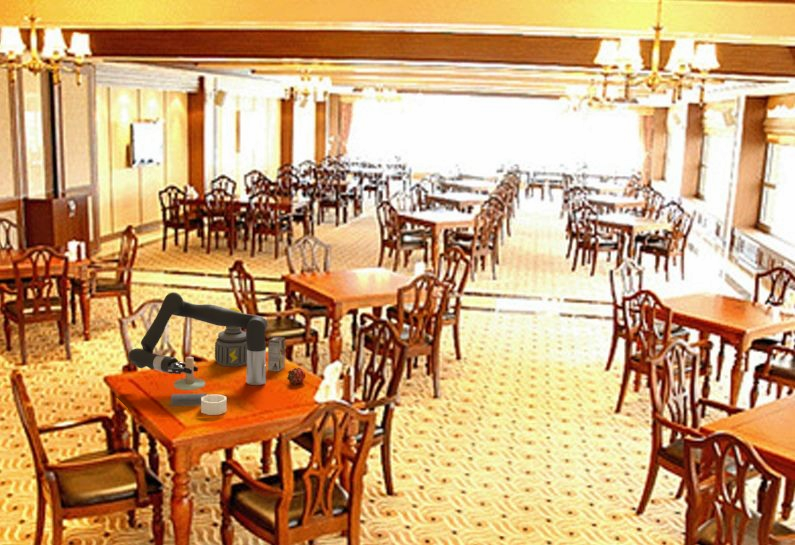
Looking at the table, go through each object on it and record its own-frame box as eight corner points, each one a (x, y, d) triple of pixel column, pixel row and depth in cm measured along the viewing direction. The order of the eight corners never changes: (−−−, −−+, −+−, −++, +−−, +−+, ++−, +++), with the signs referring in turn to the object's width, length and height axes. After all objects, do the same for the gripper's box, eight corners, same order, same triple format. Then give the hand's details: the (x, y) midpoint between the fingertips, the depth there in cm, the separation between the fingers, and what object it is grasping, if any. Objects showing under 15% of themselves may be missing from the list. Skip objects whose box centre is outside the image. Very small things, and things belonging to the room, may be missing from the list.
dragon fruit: (290, 390, 424) (298, 386, 435) (304, 381, 422) (311, 377, 434) (282, 375, 424) (289, 371, 436) (296, 366, 423) (303, 363, 434)
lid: (205, 379, 404) (205, 353, 401) (205, 389, 390) (205, 362, 388) (174, 380, 401) (174, 353, 398) (173, 390, 387) (173, 362, 385)
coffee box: (273, 365, 456) (274, 336, 453) (285, 366, 455) (285, 337, 452) (267, 370, 447) (268, 340, 444) (279, 371, 446) (279, 341, 443)
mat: (206, 394, 407) (206, 393, 406) (206, 406, 391) (206, 405, 391) (171, 395, 403) (171, 394, 403) (170, 407, 388) (170, 406, 388)
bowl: (225, 406, 392) (226, 394, 391) (226, 415, 381) (226, 402, 380) (201, 407, 389) (201, 394, 388) (201, 416, 379) (201, 403, 378)
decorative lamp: (251, 367, 452) (252, 311, 446) (215, 367, 447) (215, 311, 442) (249, 356, 470) (250, 303, 464) (214, 357, 465) (214, 303, 460)
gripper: (154, 360, 394) (184, 366, 386) (175, 352, 406) (204, 358, 398) (155, 375, 395) (184, 382, 387) (176, 367, 407) (204, 374, 400)
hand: (194, 370), depth 393 cm, fingers closed on lid, 3 cm apart
